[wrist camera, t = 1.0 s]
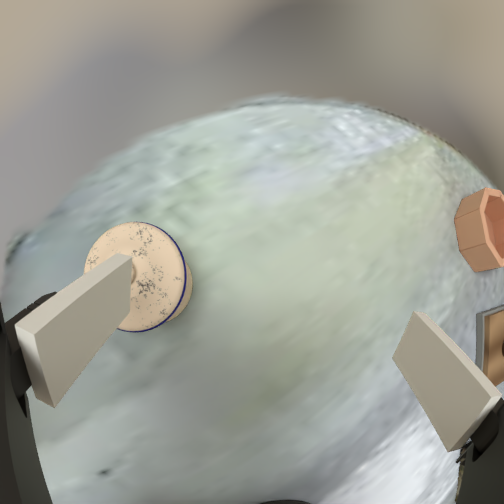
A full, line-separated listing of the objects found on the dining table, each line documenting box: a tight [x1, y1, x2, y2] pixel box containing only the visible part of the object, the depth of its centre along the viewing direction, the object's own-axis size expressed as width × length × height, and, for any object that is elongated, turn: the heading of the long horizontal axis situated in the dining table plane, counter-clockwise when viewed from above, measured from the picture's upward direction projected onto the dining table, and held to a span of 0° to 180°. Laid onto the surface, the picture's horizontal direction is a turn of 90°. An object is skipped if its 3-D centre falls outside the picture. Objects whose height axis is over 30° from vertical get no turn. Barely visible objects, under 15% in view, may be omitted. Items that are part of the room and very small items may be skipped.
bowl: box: [454, 188, 504, 272], centre depth 34 cm, size 12×12×6 cm
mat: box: [476, 305, 504, 372], centre depth 33 cm, size 14×14×2 cm
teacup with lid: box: [84, 222, 193, 332], centre depth 24 cm, size 12×9×12 cm
